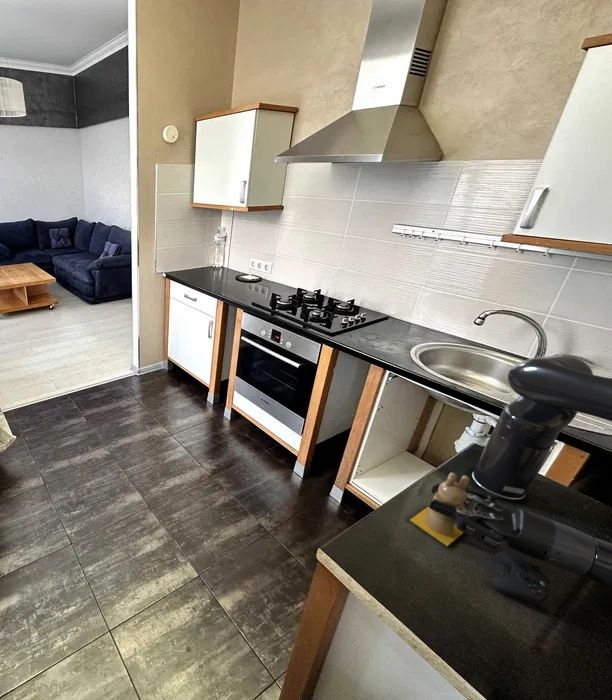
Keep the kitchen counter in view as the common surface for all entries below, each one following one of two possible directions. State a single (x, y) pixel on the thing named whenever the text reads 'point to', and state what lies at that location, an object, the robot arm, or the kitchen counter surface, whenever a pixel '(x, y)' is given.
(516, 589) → the game controller
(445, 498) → the toy rabbit
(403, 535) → the kitchen counter surface
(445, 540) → the flat yellow rectangular block
